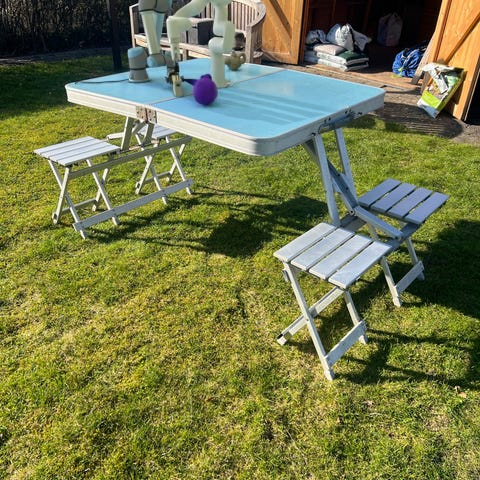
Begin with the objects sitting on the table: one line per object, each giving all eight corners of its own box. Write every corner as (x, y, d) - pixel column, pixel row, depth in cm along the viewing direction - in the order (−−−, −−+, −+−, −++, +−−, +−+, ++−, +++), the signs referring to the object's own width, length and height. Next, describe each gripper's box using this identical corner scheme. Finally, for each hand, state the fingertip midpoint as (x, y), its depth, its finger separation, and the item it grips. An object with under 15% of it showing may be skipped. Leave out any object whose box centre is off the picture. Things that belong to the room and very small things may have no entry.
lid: (181, 81, 288) (180, 67, 284) (174, 82, 287) (173, 68, 283) (178, 76, 303) (177, 63, 299) (172, 77, 302) (170, 63, 298)
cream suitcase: (182, 96, 293) (181, 81, 289) (175, 96, 292) (174, 82, 288) (180, 90, 308) (178, 76, 303) (173, 91, 307) (172, 77, 302)
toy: (205, 96, 290) (217, 110, 270) (179, 91, 283) (189, 106, 262) (211, 71, 282) (224, 84, 262) (184, 66, 275) (195, 79, 254)
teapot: (226, 72, 363) (226, 52, 355) (220, 70, 372) (219, 50, 364) (249, 69, 372) (249, 50, 365) (242, 67, 381) (241, 48, 373)
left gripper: (186, 81, 324) (190, 87, 304) (161, 82, 321) (163, 89, 301) (185, 70, 320) (189, 76, 300) (160, 71, 317) (162, 77, 297)
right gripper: (181, 41, 271) (184, 73, 281) (179, 39, 284) (181, 69, 294) (169, 42, 270) (172, 74, 279) (167, 39, 283) (169, 70, 292)
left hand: (176, 82), depth 301 cm, fingers closed on cream suitcase, 5 cm apart
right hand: (176, 71), depth 286 cm, fingers closed
